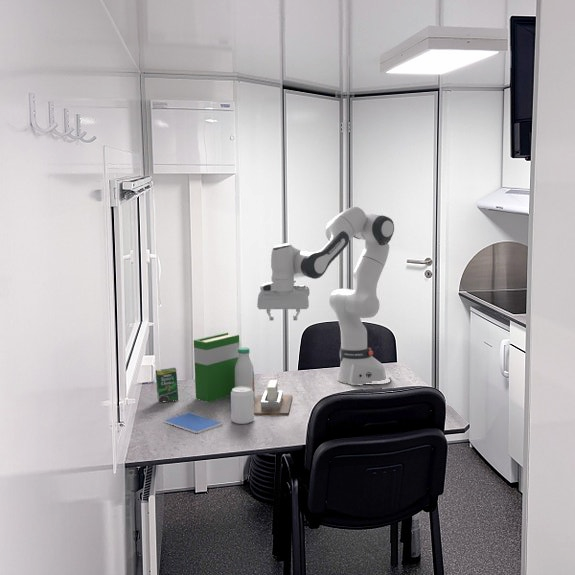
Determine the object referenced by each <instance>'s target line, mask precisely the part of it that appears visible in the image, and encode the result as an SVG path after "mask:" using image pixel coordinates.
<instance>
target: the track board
mask: <svg viewBox="0 0 575 575" xmlns="http://www.w3.org/2000/svg"><path fill="white" fill-rule="evenodd" d="M263 395H264V394H257V395H256V398H255V399H254V416H289V413H290V411H291V410H290V409H291V404H292V399H293V395H291V394H283V399H282V403H281V407H280V410H261V400H262V397H263Z"/></svg>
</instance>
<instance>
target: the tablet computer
mask: <svg viewBox="0 0 575 575" xmlns="http://www.w3.org/2000/svg"><path fill="white" fill-rule="evenodd" d="M163 421H164V422H166V423H168V424H167V425H169V424H171V425H170V426H172V425H174V427H175V426H176V427H175V428H178V427H179V429H181V428H182V430H185V431H187V432H190V433H193V434H195V433H196V434H197V433H198V434H200V433H204V432H207V431H210V430H213V429H216V428H219V427H221V426H223V423H222V422H220V421H218V420H217V421H216V420H213V419H210V418H208V417H203V416H200V415H198V414H196V413H192V412H186V413H183V414H180V415H177V416H173V417H170V418H167V419H164V420H163ZM166 423H165V424H166ZM198 434H197V435H198Z"/></svg>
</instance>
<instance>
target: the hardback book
mask: <svg viewBox="0 0 575 575" xmlns="http://www.w3.org/2000/svg"><path fill="white" fill-rule="evenodd" d="M238 348H241V346H240V335H239V334H234V335H230V334H229V332H223V333H219V334H215V335H210V336H206V337H201V338H197V339H193V359H194V361H193V362H194V382H195V384H194V385H195V399H196V398H197V399H196V400H198V399H200V400H199V401H202V400H203V401H202V402H205V401H206V402H205V403H211V402H214V401H218V400H221V399H223V398H227V397H231V392H232V389H233V388H235V365H236V363H237V360H238V357H239V354H238Z"/></svg>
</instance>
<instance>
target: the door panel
mask: <svg viewBox="0 0 575 575" xmlns="http://www.w3.org/2000/svg"><path fill="white" fill-rule="evenodd" d="M278 386H279V385H278V379H270V380H269V382H268V384H267V387H266V391H267V401H277V398H278V391H279V390H278Z"/></svg>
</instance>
